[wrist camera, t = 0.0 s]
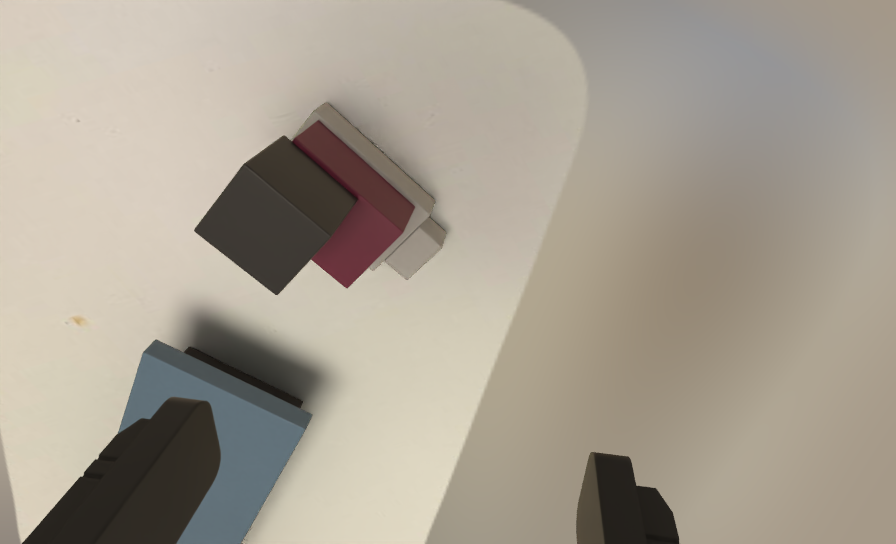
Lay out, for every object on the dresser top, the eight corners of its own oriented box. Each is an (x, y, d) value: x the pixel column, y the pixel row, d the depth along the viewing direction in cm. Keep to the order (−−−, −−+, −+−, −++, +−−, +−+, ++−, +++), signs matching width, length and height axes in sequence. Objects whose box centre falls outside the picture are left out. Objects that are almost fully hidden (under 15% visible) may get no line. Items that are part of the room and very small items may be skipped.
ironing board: (191, 302, 35) (143, 351, 30) (333, 371, 36) (305, 429, 32) (105, 550, 49) (63, 608, 45) (208, 593, 50) (177, 654, 46)
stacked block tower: (275, 166, 30) (187, 237, 22) (326, 101, 28) (249, 155, 20) (402, 274, 32) (362, 373, 24) (459, 221, 30) (433, 311, 22)
